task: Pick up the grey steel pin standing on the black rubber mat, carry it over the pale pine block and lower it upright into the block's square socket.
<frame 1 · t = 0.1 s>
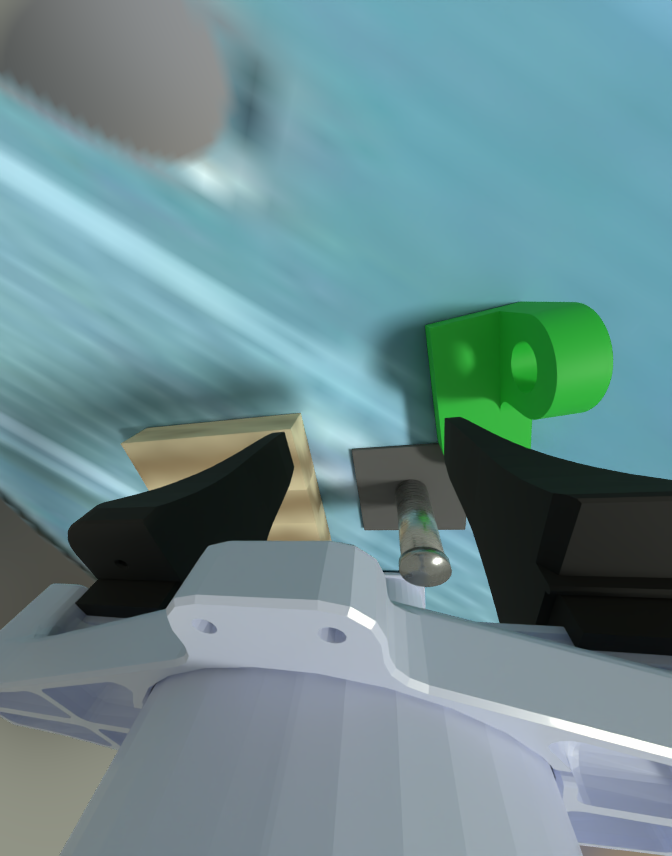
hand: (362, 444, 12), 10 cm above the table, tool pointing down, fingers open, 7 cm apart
socket block: (245, 488, 28), on the table
mechanical part: (473, 396, 20), on the table, touching mat
pin: (411, 492, 25), resting on mat
mat: (410, 489, 25), on the table
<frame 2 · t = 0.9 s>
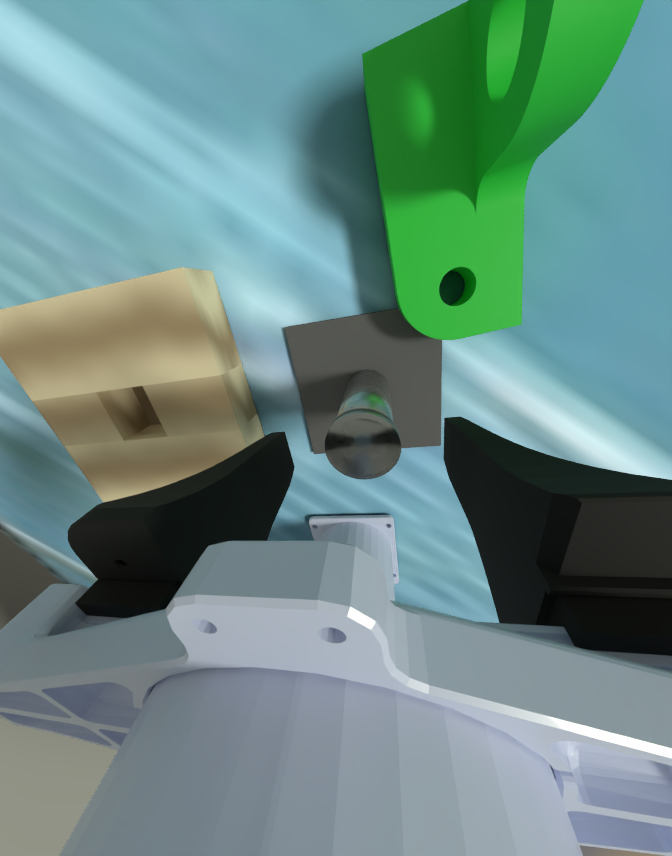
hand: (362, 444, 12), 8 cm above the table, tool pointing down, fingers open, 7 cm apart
socket block: (161, 400, 22), on the table
mechanical part: (442, 220, 14), on the table, touching mat
pin: (367, 390, 19), resting on mat
mat: (367, 388, 19), on the table
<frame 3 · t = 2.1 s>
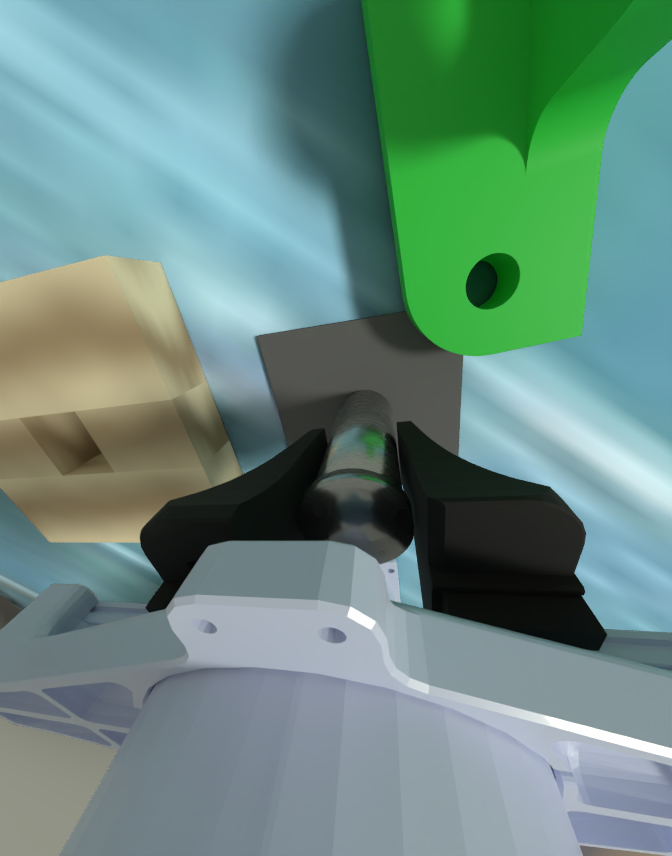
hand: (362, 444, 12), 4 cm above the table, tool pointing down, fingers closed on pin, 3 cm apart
socket block: (113, 423, 18), on the table
mechanical part: (468, 188, 10), on the table, touching mat
pin: (365, 415, 15), resting on mat, touching gripper
mat: (365, 413, 15), on the table
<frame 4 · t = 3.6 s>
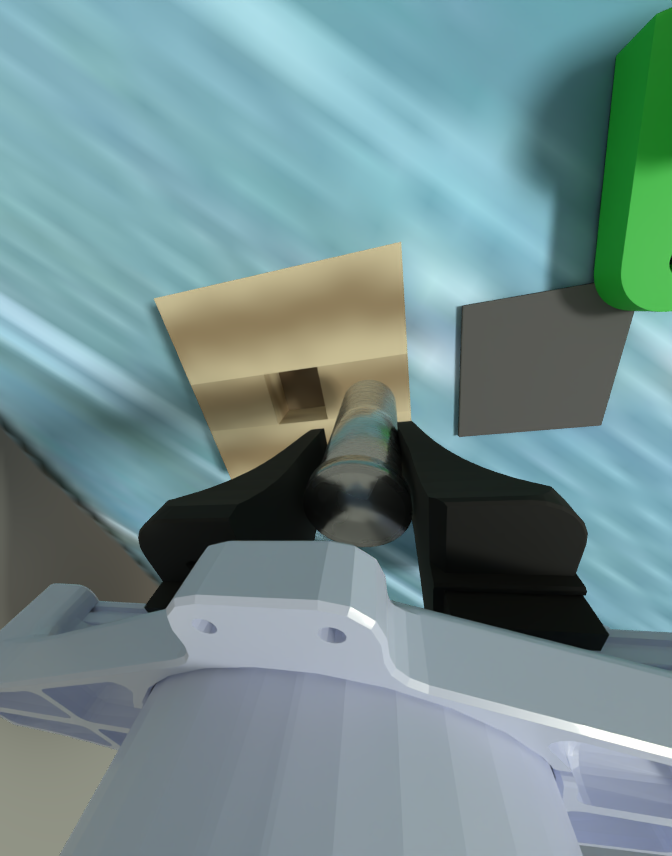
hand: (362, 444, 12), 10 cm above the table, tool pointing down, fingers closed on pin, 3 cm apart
socket block: (306, 384, 22), on the table
mechanical part: (664, 190, 14), on the table, touching mat
pin: (369, 404, 15), point 6 cm above the table, touching gripper
mat: (534, 368, 19), on the table
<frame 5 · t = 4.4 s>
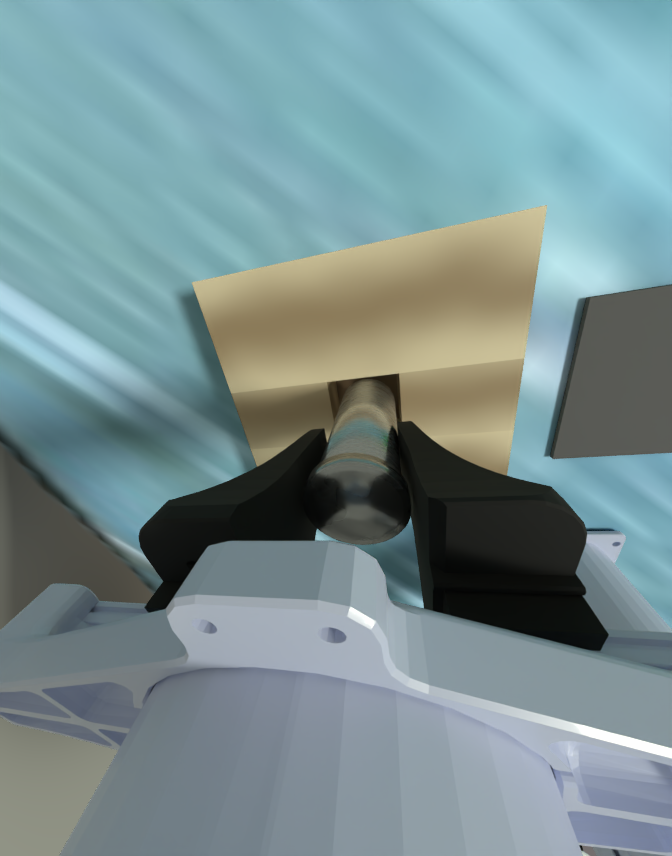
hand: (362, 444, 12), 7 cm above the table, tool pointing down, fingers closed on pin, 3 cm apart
socket block: (367, 393, 18), on the table
pin: (368, 404, 15), point 3 cm above the table, touching gripper
mat: (665, 377, 15), on the table
when the fingers open (5 cm above the table, at t = 5.2 s): pin stays where it is, resting on socket block.
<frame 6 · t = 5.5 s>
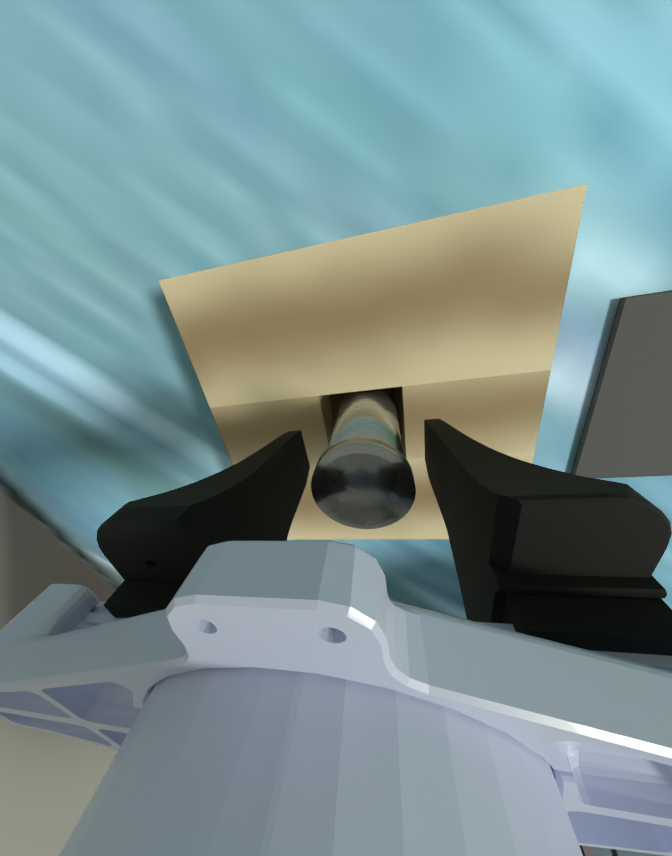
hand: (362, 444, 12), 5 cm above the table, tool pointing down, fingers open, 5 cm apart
socket block: (366, 405, 16), on the table
pin: (368, 400, 16), resting on socket block
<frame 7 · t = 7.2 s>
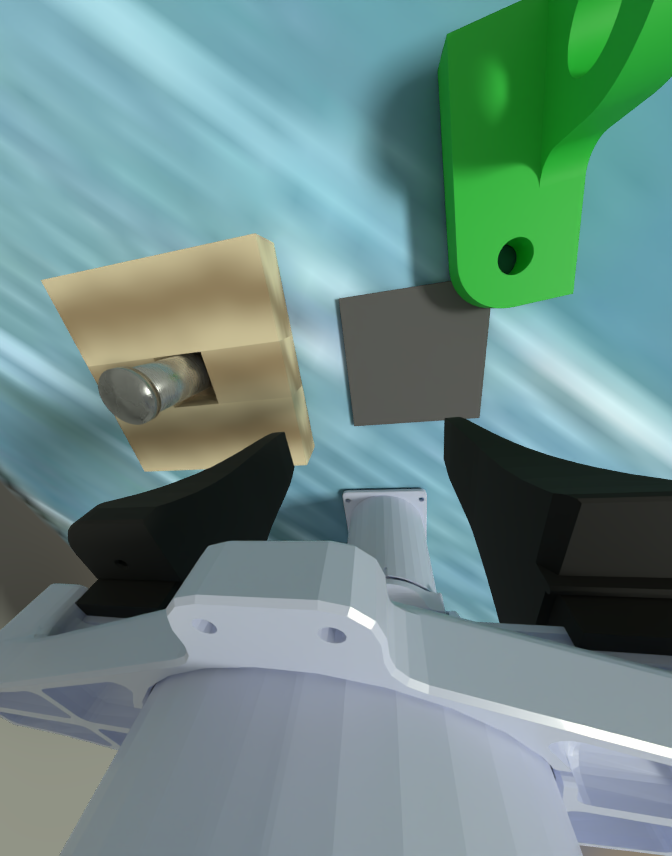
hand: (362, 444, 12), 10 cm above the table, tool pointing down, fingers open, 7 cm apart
socket block: (208, 371, 23), on the table
mechanical part: (499, 195, 15), on the table, touching mat
pin: (207, 367, 22), resting on socket block
mat: (412, 361, 20), on the table
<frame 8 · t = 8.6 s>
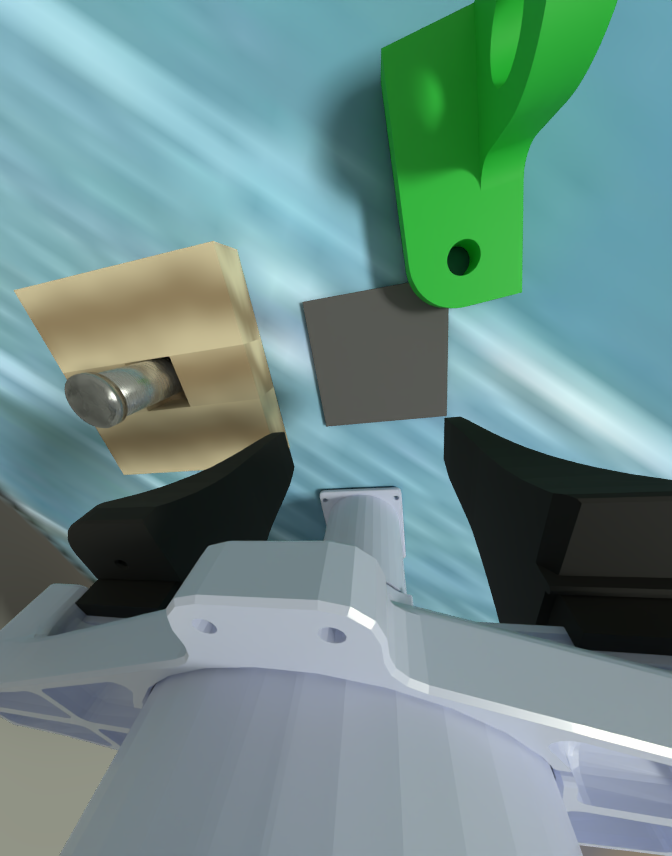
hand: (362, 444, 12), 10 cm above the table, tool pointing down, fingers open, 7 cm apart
socket block: (183, 375, 23), on the table
mechanical part: (449, 199, 16), on the table, touching mat
pin: (181, 371, 23), resting on socket block
mat: (378, 361, 20), on the table
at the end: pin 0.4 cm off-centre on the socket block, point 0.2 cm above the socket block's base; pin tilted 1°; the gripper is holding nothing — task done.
